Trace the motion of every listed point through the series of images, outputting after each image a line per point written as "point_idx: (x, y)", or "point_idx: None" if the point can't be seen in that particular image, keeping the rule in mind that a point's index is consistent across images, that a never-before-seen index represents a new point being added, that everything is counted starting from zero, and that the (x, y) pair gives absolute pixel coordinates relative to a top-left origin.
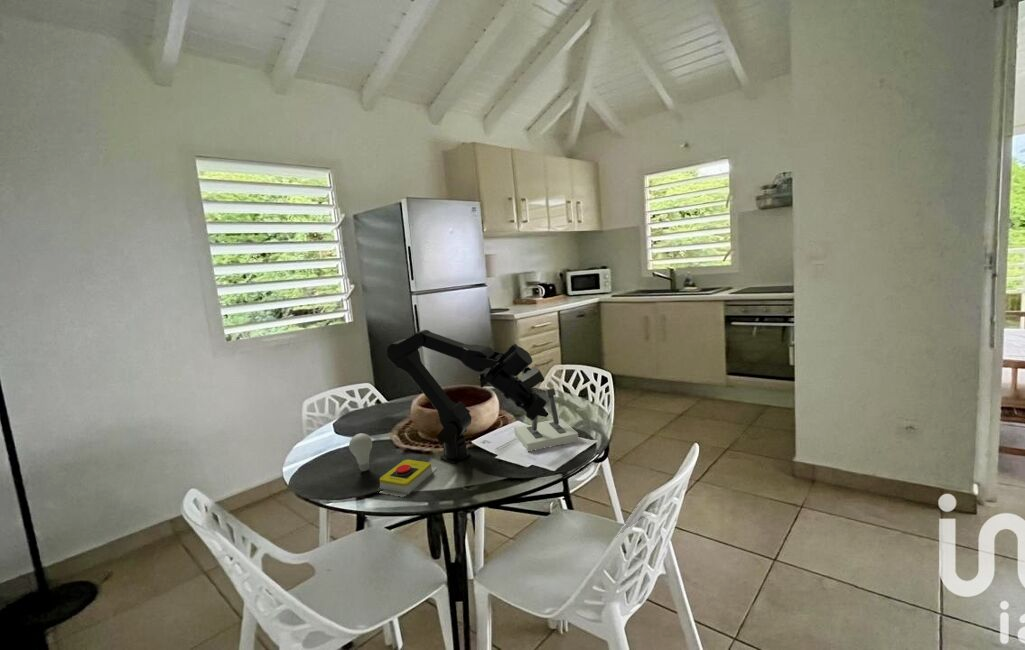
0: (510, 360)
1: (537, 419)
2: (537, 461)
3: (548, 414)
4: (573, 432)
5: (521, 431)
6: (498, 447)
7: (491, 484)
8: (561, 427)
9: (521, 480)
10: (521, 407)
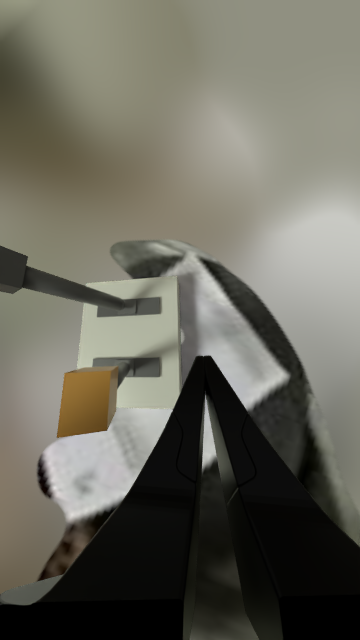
0: None
1: (122, 367)
2: None
3: (210, 356)
4: (168, 283)
5: None
6: (128, 461)
7: None
8: (134, 299)
9: (313, 467)
10: (162, 601)
